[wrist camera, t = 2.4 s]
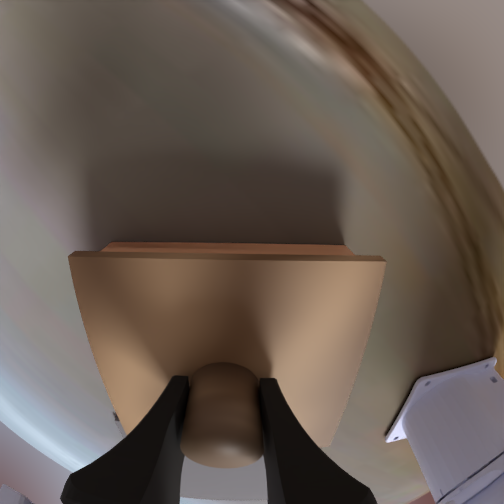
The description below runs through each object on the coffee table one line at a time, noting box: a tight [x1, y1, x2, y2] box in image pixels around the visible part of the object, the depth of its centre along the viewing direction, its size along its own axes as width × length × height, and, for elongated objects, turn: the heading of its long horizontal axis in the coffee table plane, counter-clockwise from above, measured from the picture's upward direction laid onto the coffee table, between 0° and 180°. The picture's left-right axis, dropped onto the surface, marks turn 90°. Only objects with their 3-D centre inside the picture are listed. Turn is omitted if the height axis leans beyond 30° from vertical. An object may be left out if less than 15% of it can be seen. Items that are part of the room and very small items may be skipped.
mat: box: [115, 417, 268, 500], centre depth 20 cm, size 14×15×1 cm
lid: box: [68, 251, 387, 468], centre depth 11 cm, size 12×12×4 cm
